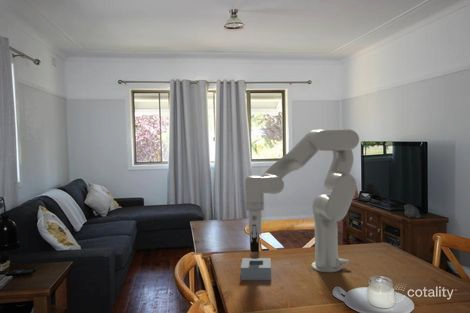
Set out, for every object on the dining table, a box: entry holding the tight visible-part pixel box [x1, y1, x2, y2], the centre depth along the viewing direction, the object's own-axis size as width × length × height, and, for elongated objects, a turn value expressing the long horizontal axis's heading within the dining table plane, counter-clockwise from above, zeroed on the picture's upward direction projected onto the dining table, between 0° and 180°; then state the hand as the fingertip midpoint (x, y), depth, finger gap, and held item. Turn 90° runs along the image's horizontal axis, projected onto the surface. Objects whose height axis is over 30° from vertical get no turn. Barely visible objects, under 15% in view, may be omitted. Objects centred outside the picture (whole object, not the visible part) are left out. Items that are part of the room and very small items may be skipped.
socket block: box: [240, 257, 272, 281], centre depth 159 cm, size 12×12×5 cm
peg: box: [249, 233, 261, 259], centre depth 158 cm, size 4×4×10 cm
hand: (254, 249), depth 158 cm, fingers closed on peg, 4 cm apart
